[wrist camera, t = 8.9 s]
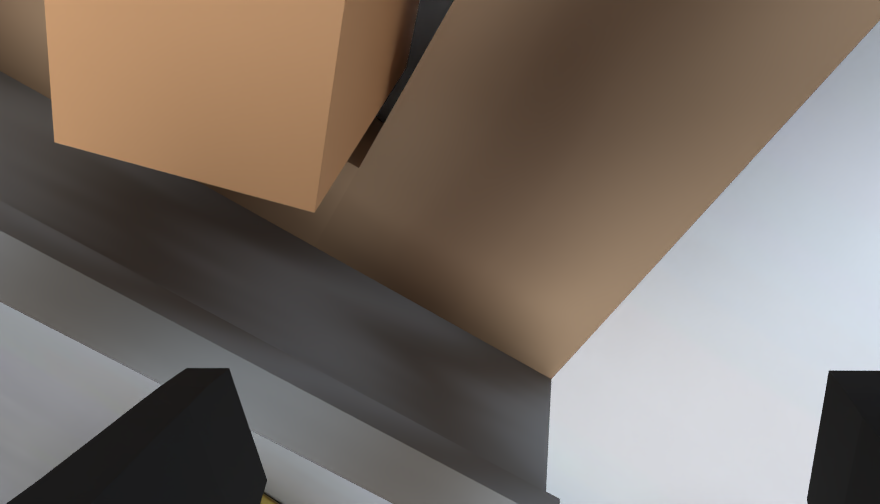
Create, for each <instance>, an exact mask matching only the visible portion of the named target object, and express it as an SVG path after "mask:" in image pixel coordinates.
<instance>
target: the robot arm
mask: <svg viewBox="0 0 880 504" xmlns="http://www.w3.org/2000/svg"><path fill="white" fill-rule="evenodd" d="M266 482H267V479H266V476H265V473H264V470H263V467H262V464H261V461H260V458H259V455H258V452H257V449H256V446H255V443H254V440H253V437H252V434H251V431H250V428H249V425H248V422H247V419H246V416H245V413H244V410H243V407H242V404H241V402H240V399H239V396H238V393H237V390H236V387H235V384H234V381H233V378H232V375H231V372H230V369H229V368H186V369H184V370H183V371H181V372H180V373H178V374H177V375H176V376H174V377H173V378H171V379H170V380H168V381H167V382H166V383H164V384H163V385H162V386H160V387H159V388H158V389H156V390H155V391H154V392H152V393H151V394H150V395H148V396H147V397H146V398H144V399H143V400H142V401H140V402H139V403H138V404H136V405H135V406H134V407H133V408H131V409H130V410H129V411H127V412H126V413H125V414H124V415H122V416H121V417H120V418H118V419H117V420H116V421H115V422H113V423H112V424H111V425H110V426H108V427H107V428H106V429H104V430H103V431H102V432H101V433H99V434H98V435H97V436H95V437H94V438H93V439H91V440H90V441H89V442H88V443H86V444H85V445H84V446H82V447H81V448H80V449H79V450H77V451H76V452H75V453H73V454H72V455H71V456H69V457H68V458H67V459H66V460H64V461H63V462H62V463H60V464H59V465H58V466H56V467H55V468H54V469H53V470H51V471H50V472H49V473H47V474H46V475H45V476H44V477H42V478H41V479H40V480H38V481H37V482H36V483H34V484H33V485H32V486H30V487H29V488H27V489H26V490H25V491H23V492H22V493H20V494H19V495H18V496H16V497H15V498H14V499H12V500H11V501H9V502H8V503H7V504H260V503H261V500H262V496H263V492H264V489H265V485H266ZM807 502H808V504H880V371H829V374H828V379H827V385H826V391H825V397H824V403H823V409H822V414H821V420H820V426H819V432H818V438H817V444H816V449H815V455H814V461H813V467H812V473H811V479H810V484H809V490H808V496H807Z"/></svg>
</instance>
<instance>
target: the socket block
mask: <svg viewBox="0 0 880 504" xmlns="http://www.w3.org/2000/svg"><path fill="white" fill-rule="evenodd" d="M879 20H880V0H454V1H453V3H452V4H451V6H450V8H449V10H448V11H447V13H446V15H445V17H444V19H443V20H442V22H441V24H440V26H439V27H438V29H437V31H436V33H435V34H434V36H433V38H432V40H431V42H430V43H429V45H428V47H427V49H426V50H425V52H424V54H423V56H422V57H421V59H420V61H419V63H418V64H417V66H416V68H415V70H414V72H413V73H412V75H411V77H410V79H409V80H408V82H407V84H406V86H405V87H404V89H403V91H402V93H401V95H400V96H399V98H398V100H397V102H396V103H395V105H394V107H393V109H392V110H391V112H390V114H389V116H388V117H387V119H386V121H385V123H383V122H381V121H380V120H378V119H376V118H374V120H373V121H372V123H371V124H370V126H369V127H368V129H367V131H366V132H365V134H364V135H363V137H362V139H361V140H360V142H359V143H358V145H357V146H356V148H355V150H354V151H353V153H352V154H351V156H350V157H349V159H348V161H347V162H346V164H345V165H344V167H343V169H342V170H341V172H340V173H339V175H338V176H337V178H336V180H335V181H334V183H333V184H332V186H331V187H330V189H329V191H328V192H327V194H326V195H325V197H324V199H323V200H322V202H321V203H320V205H319V206H318V208H317V210H316V211H315V213H314V212H310V211H306V210H303V209H299V208H295V207H291V206H288V205H284V204H280V203H277V202H273V201H269V200H266V199H262V198H258V197H255V196H251V195H247V194H243V193H240V192H236V191H232V190H229V189H225V188H221V187H218V186H214V185H210V184H207V183H203V182H199V181H195V180H192V179H188V178H184V177H181V176H177V175H173V174H170V173H166V172H162V171H159V170H155V169H151V168H147V167H144V166H140V165H136V164H133V163H129V162H125V161H122V160H118V159H114V158H111V157H107V156H103V155H100V154H96V153H92V152H88V151H85V150H81V149H77V148H74V147H70V146H66V145H63V144H59V143H55V142H54V130H53V116H52V102H51V88H50V74H49V60H48V47H47V33H46V19H45V5H44V0H0V302H2V303H4V304H6V305H7V306H9V307H11V308H13V309H15V310H17V311H19V312H21V313H23V314H25V315H27V316H29V317H31V318H33V319H35V320H37V321H39V322H41V323H43V324H44V325H46V326H48V327H50V328H52V329H54V330H56V331H58V332H60V333H62V334H64V335H66V336H68V337H70V338H72V339H74V340H76V341H78V342H80V343H81V344H83V345H85V346H87V347H89V348H91V349H93V350H95V351H97V352H99V353H101V354H103V355H105V356H107V357H109V358H111V359H113V360H115V361H117V362H118V363H120V364H122V365H124V366H126V367H128V368H130V369H132V370H134V371H136V372H138V373H140V374H142V375H144V376H146V377H148V378H150V379H152V380H154V381H155V382H157V383H159V384H161V385H163V384H164V383H166V382H167V381H168V380H170V379H171V378H173V377H174V376H176V375H177V374H178V373H180V372H181V371H183V370H184V369H186V368H229V369H230V372H231V375H232V378H233V381H234V384H235V387H236V390H237V393H238V396H239V399H240V402H241V404H242V407H243V410H244V413H245V416H246V419H247V422H248V425H249V428H250V430H251V431H253V432H255V433H257V434H259V435H261V436H263V437H264V438H266V439H268V440H270V441H272V442H274V443H276V444H278V445H280V446H282V447H284V448H286V449H288V450H290V451H292V452H294V453H296V454H298V455H300V456H301V457H303V458H305V459H307V460H309V461H311V462H313V463H315V464H317V465H319V466H321V467H323V468H325V469H327V470H329V471H331V472H333V473H335V474H337V475H338V476H340V477H342V478H344V479H346V480H348V481H350V482H352V483H354V484H356V485H358V486H360V487H362V488H364V489H366V490H368V491H370V492H372V493H374V494H375V495H377V496H379V497H381V498H383V499H385V500H387V501H389V502H391V503H393V504H560V499H559V498H557V497H555V496H553V495H551V494H549V493H547V492H546V478H547V457H548V436H549V416H550V395H551V379H552V378H553V377H554V376H555V374H556V373H557V372H558V371H559V370H560V369H561V368H562V367H563V366H564V365H565V364H566V362H567V361H568V360H569V359H570V358H571V357H572V356H573V355H574V354H575V353H576V352H577V350H578V349H579V348H580V347H581V346H582V345H583V344H584V343H585V342H586V341H587V340H588V338H589V337H590V336H591V335H592V334H593V333H594V332H595V331H596V330H597V329H598V327H599V326H600V325H601V324H602V323H603V322H604V321H605V320H606V319H607V318H608V317H609V315H610V314H611V313H612V312H613V311H614V310H615V309H616V308H617V307H618V306H619V305H620V303H621V302H622V301H623V300H624V299H625V298H626V297H627V296H628V295H629V294H630V293H631V291H632V290H633V289H634V288H635V287H636V286H637V285H638V284H639V283H640V282H641V280H642V279H643V278H644V277H645V276H646V275H647V274H648V273H649V272H650V271H651V270H652V268H653V267H654V266H655V265H656V264H657V263H658V262H659V261H660V260H661V259H662V258H663V256H664V255H665V254H666V253H667V252H668V251H669V250H670V249H671V248H672V247H673V246H674V244H675V243H676V242H677V241H678V240H679V239H680V238H681V237H682V236H683V235H684V233H685V232H686V231H687V230H688V229H689V228H690V227H691V226H692V225H693V224H694V223H695V221H696V220H697V219H698V218H699V217H700V216H701V215H702V214H703V213H704V212H705V211H706V209H707V208H708V207H709V206H710V205H711V204H712V203H713V202H714V201H715V200H716V199H717V197H718V196H719V195H720V194H721V193H722V192H723V191H724V190H725V189H726V188H727V186H728V185H729V184H730V183H731V182H732V181H733V180H734V179H735V178H736V177H737V176H738V174H739V173H740V172H741V171H742V170H743V169H744V168H745V167H746V166H747V165H748V164H749V162H750V161H751V160H752V159H753V158H754V157H755V156H756V155H757V154H758V153H759V152H760V150H761V149H762V148H763V147H764V146H765V145H766V144H767V143H768V142H769V141H770V139H771V138H772V137H773V136H774V135H775V134H776V133H777V132H778V131H779V130H780V129H781V127H782V126H783V125H784V124H785V123H786V122H787V121H788V120H789V119H790V118H791V117H792V115H793V114H794V113H795V112H796V111H797V110H798V109H799V108H800V107H801V106H802V105H803V103H804V102H805V101H806V100H807V99H808V98H809V97H810V96H811V95H812V94H813V92H814V91H815V90H816V89H817V88H818V87H819V86H820V85H821V84H822V83H823V82H824V80H825V79H826V78H827V77H828V76H829V75H830V74H831V73H832V72H833V71H834V70H835V68H836V67H837V66H838V65H839V64H840V63H841V62H842V61H843V60H844V59H845V58H846V56H847V55H848V54H849V53H850V52H851V51H852V50H853V49H854V48H855V47H856V45H857V44H858V43H859V42H860V41H861V40H862V39H863V38H864V37H865V36H866V35H867V33H868V32H869V31H870V30H871V29H872V28H873V27H874V26H875V25H876V24H877V23H878V21H879Z"/></svg>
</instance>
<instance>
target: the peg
mask: <svg viewBox="0 0 880 504" xmlns="http://www.w3.org/2000/svg"><path fill="white" fill-rule="evenodd" d="M419 2H420V0H44V5H45V19H46V33H47V47H48V60H49V74H50V88H51V102H52V116H53V130H54V142H55V143H59V144H63V145H66V146H70V147H74V148H77V149H81V150H85V151H88V152H92V153H96V154H100V155H103V156H107V157H111V158H114V159H118V160H122V161H125V162H129V163H133V164H136V165H140V166H144V167H147V168H151V169H155V170H159V171H162V172H166V173H170V174H173V175H177V176H181V177H184V178H188V179H192V180H195V181H199V182H203V183H207V184H210V185H214V186H218V187H221V188H225V189H229V190H232V191H236V192H240V193H243V194H247V195H251V196H255V197H258V198H262V199H266V200H269V201H273V202H277V203H280V204H284V205H288V206H291V207H295V208H299V209H303V210H306V211H310V212H314V213H315V211H316V210H317V208H318V206H319V205H320V203H321V202H322V200H323V199H324V197H325V195H326V194H327V192H328V191H329V189H330V187H331V186H332V184H333V183H334V181H335V180H336V178H337V176H338V175H339V173H340V172H341V170H342V169H343V167H344V165H345V164H346V162H347V161H348V159H349V157H350V156H351V154H352V153H353V151H354V150H355V148H356V146H357V145H358V143H359V142H360V140H361V139H362V137H363V135H364V134H365V132H366V131H367V129H368V127H369V126H370V124H371V123H372V121H373V120H374V118H375V116H376V115H377V113H378V112H379V110H380V109H381V107H382V105H383V104H384V102H385V101H386V99H387V97H388V96H389V94H390V93H391V91H392V90H393V88H394V86H395V85H396V83H397V82H398V80H399V79H400V77H401V75H402V74H403V72H404V71H405V69H406V67H407V63H408V58H409V53H410V48H411V42H412V37H413V32H414V27H415V22H416V17H417V12H418V7H419Z"/></svg>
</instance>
